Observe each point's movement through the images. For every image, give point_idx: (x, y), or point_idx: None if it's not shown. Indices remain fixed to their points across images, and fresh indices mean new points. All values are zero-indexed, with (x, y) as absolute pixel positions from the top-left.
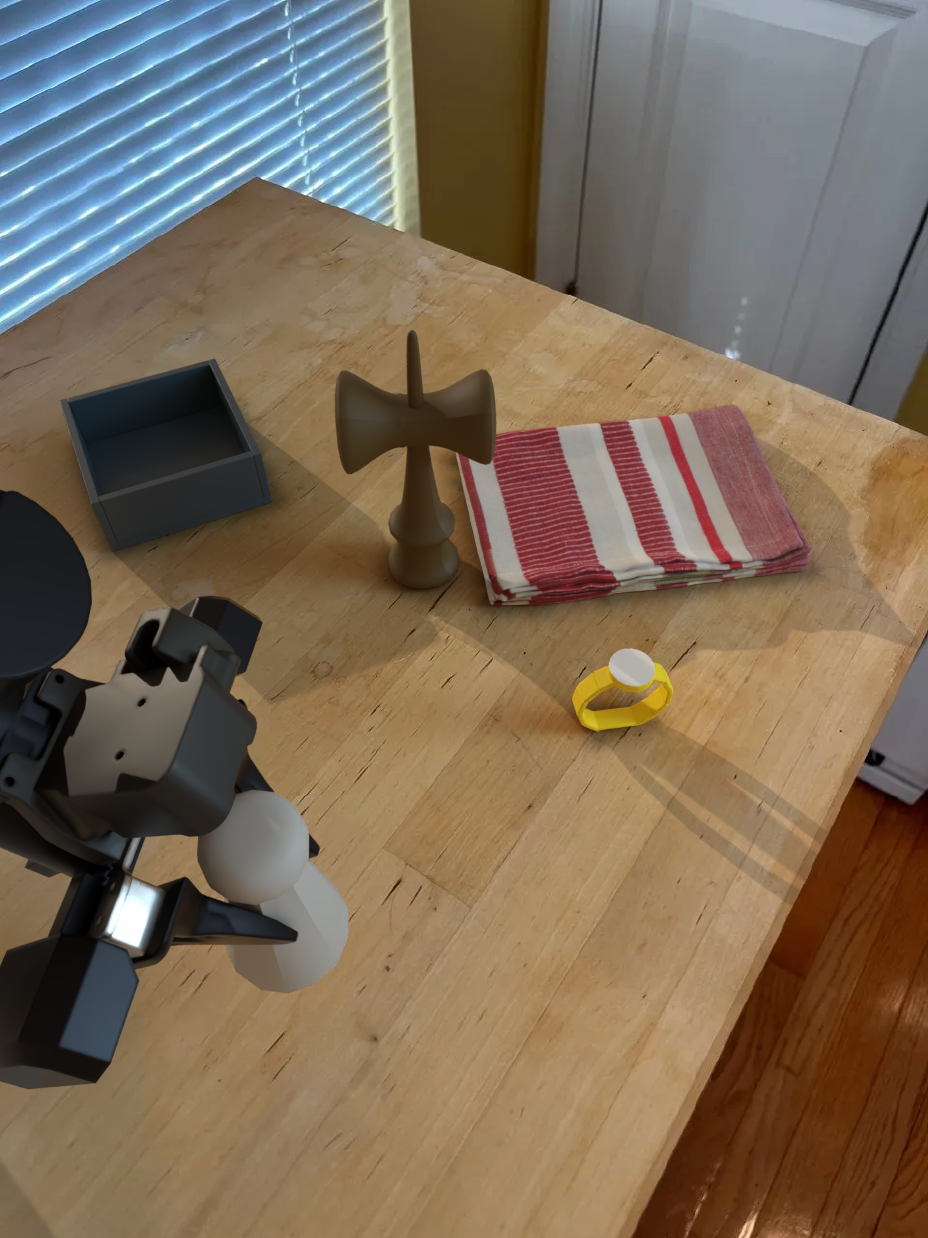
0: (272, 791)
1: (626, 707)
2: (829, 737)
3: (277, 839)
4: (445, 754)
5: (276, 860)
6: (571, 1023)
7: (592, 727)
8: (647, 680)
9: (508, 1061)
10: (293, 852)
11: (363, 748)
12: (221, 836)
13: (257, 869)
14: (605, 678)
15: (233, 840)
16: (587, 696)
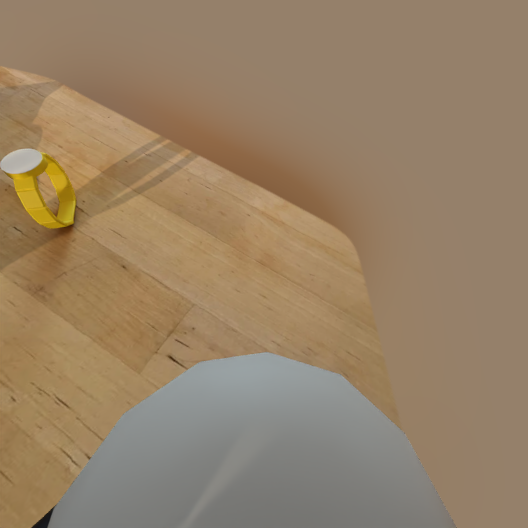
0: (51, 514)
1: (59, 204)
2: (111, 121)
3: (288, 441)
4: (62, 327)
5: (363, 429)
6: (264, 249)
7: (69, 221)
8: (38, 153)
9: (287, 281)
10: (307, 375)
11: (33, 404)
12: None
13: (415, 511)
14: (25, 181)
15: None
16: (39, 201)
